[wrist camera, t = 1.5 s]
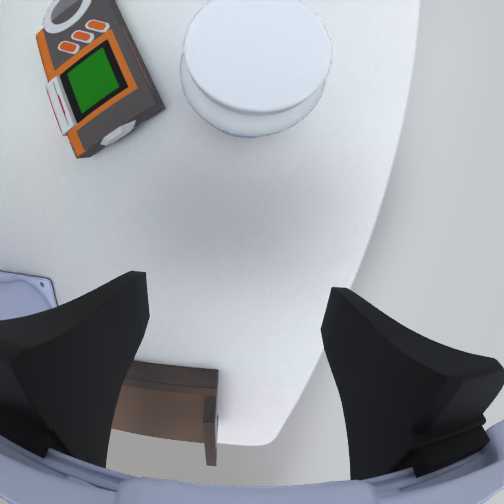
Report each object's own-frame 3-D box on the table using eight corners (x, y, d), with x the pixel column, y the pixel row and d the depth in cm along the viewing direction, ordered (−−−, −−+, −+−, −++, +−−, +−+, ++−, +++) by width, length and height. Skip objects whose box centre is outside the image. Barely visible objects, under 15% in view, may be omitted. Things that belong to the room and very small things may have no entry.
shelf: (106, 404, 28) (91, 444, 22) (86, 352, 25) (62, 395, 19) (218, 420, 29) (216, 466, 23) (218, 369, 26) (215, 423, 20)
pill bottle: (184, 94, 17) (121, 47, 7) (252, 40, 16) (266, -51, 5) (243, 156, 19) (247, 176, 8) (310, 102, 18) (388, 67, 7)
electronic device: (93, -32, 10) (155, 107, 14) (107, -18, 13) (168, 113, 17) (26, 20, 11) (72, 165, 15) (45, 28, 13) (92, 162, 18)
